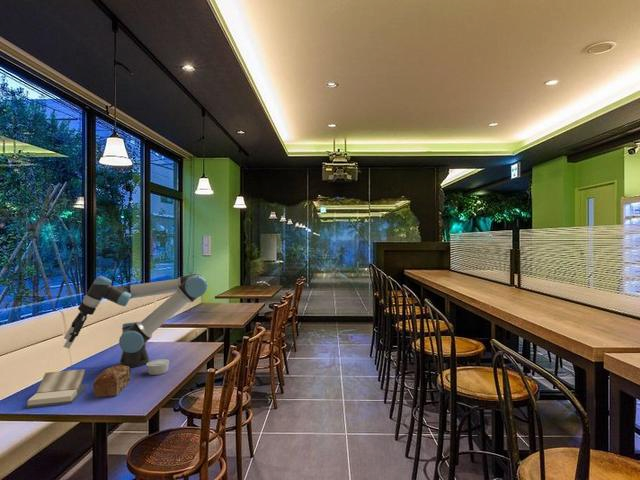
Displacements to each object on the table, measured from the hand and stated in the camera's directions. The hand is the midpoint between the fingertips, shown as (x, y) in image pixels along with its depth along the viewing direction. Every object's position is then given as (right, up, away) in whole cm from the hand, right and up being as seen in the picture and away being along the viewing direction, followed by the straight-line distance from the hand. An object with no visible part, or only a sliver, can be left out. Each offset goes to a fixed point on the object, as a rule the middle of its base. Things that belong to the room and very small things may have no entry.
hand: (66, 343), depth 200 cm
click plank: (+10, -13, -19) cm, 25 cm away
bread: (+32, -18, -16) cm, 40 cm away
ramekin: (+43, -17, +8) cm, 47 cm away
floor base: (+11, -18, -23) cm, 31 cm away
